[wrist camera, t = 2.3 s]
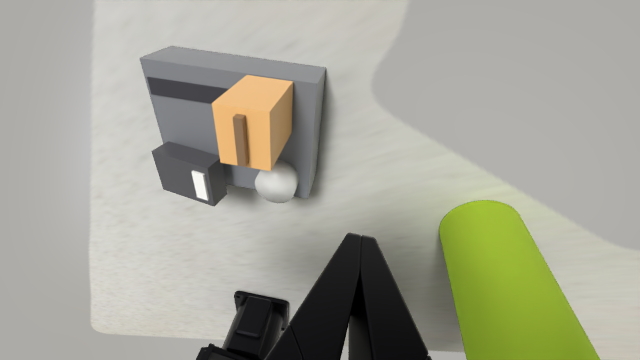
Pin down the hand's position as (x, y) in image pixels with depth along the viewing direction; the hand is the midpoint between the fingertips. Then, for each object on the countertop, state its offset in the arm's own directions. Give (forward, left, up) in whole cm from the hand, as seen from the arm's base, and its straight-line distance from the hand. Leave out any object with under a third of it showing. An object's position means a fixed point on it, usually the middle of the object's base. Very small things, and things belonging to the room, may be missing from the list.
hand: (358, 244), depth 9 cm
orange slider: (0, +5, -9) cm, 10 cm away
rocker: (-5, +10, -8) cm, 14 cm away
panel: (-3, +8, -12) cm, 15 cm away
